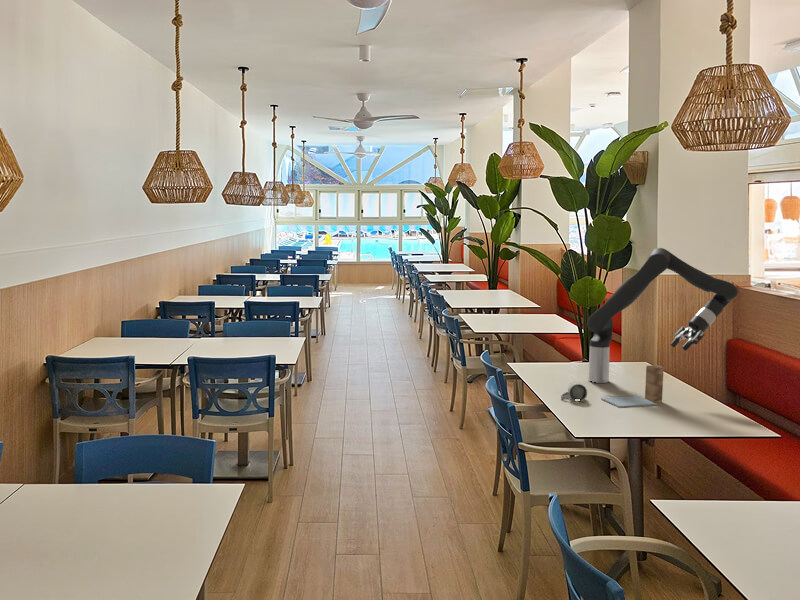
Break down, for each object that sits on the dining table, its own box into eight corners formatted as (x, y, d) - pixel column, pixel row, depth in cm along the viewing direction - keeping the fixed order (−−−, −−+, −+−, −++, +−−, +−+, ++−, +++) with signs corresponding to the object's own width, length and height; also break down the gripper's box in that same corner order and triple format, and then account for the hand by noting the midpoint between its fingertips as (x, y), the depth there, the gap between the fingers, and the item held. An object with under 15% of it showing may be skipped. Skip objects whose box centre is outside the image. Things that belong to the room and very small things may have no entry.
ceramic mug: (584, 397, 315) (584, 380, 314) (587, 402, 306) (587, 384, 306) (559, 397, 316) (559, 380, 315) (561, 401, 307) (562, 384, 307)
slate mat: (637, 397, 316) (637, 395, 316) (657, 405, 302) (657, 403, 302) (601, 399, 311) (601, 398, 311) (619, 407, 298) (619, 406, 298)
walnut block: (654, 399, 313) (656, 365, 311) (661, 401, 308) (663, 367, 307) (644, 399, 312) (646, 365, 310) (651, 402, 307) (653, 367, 305)
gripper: (687, 312, 317) (662, 339, 316) (707, 316, 303) (682, 344, 302) (697, 324, 319) (673, 350, 318) (718, 328, 305) (693, 356, 304)
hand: (677, 347), depth 310 cm, fingers open, 8 cm apart
